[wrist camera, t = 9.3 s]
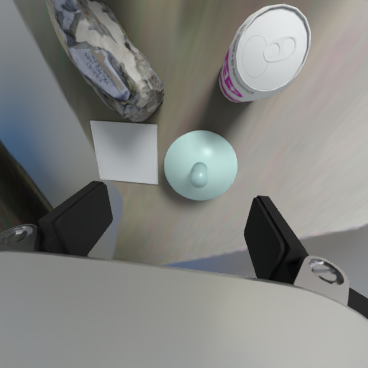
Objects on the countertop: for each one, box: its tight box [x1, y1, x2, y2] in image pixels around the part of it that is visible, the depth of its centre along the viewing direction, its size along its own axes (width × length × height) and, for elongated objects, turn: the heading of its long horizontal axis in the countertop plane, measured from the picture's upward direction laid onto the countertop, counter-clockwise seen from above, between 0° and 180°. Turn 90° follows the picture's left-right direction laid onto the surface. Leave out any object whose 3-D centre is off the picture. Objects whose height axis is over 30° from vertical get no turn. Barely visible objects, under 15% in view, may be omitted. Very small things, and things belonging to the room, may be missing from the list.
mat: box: [90, 121, 158, 184], centre depth 38 cm, size 14×15×1 cm
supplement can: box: [219, 4, 311, 103], centre depth 23 cm, size 8×8×15 cm
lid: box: [164, 130, 237, 200], centre depth 29 cm, size 14×14×6 cm
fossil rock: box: [46, 0, 164, 122], centre depth 26 cm, size 20×10×15 cm, turn 31°
